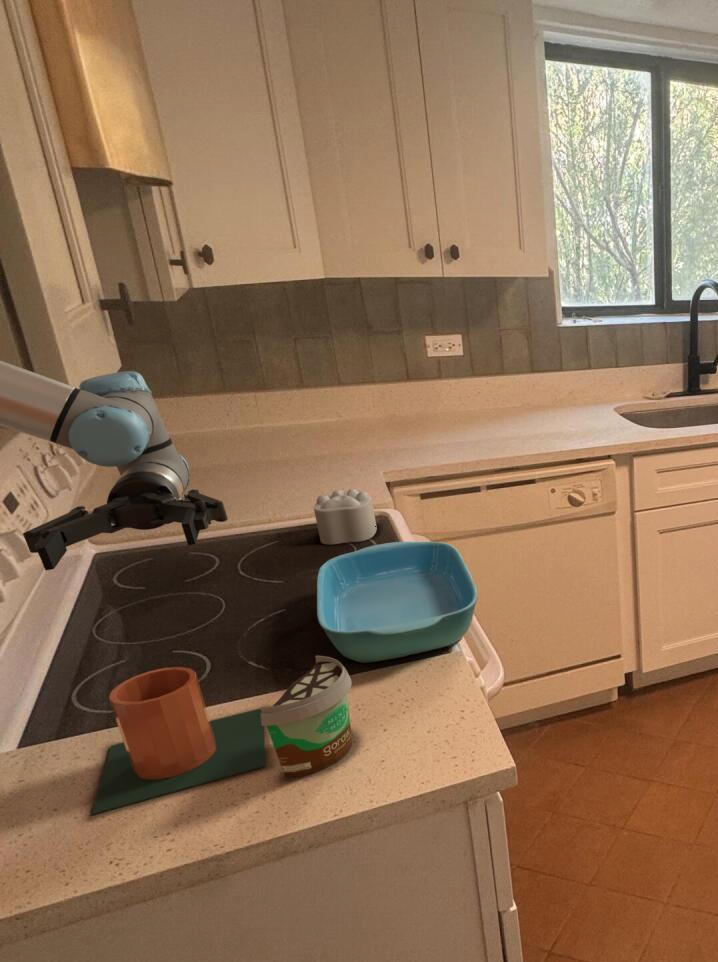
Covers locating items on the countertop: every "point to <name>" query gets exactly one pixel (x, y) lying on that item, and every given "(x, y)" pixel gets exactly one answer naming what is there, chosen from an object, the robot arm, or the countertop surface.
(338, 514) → the lumpy-topped squat cylinder
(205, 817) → the countertop surface
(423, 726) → the countertop surface
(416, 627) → the casserole dish
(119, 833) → the countertop surface
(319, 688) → the food container
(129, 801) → the mat
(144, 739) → the cup
